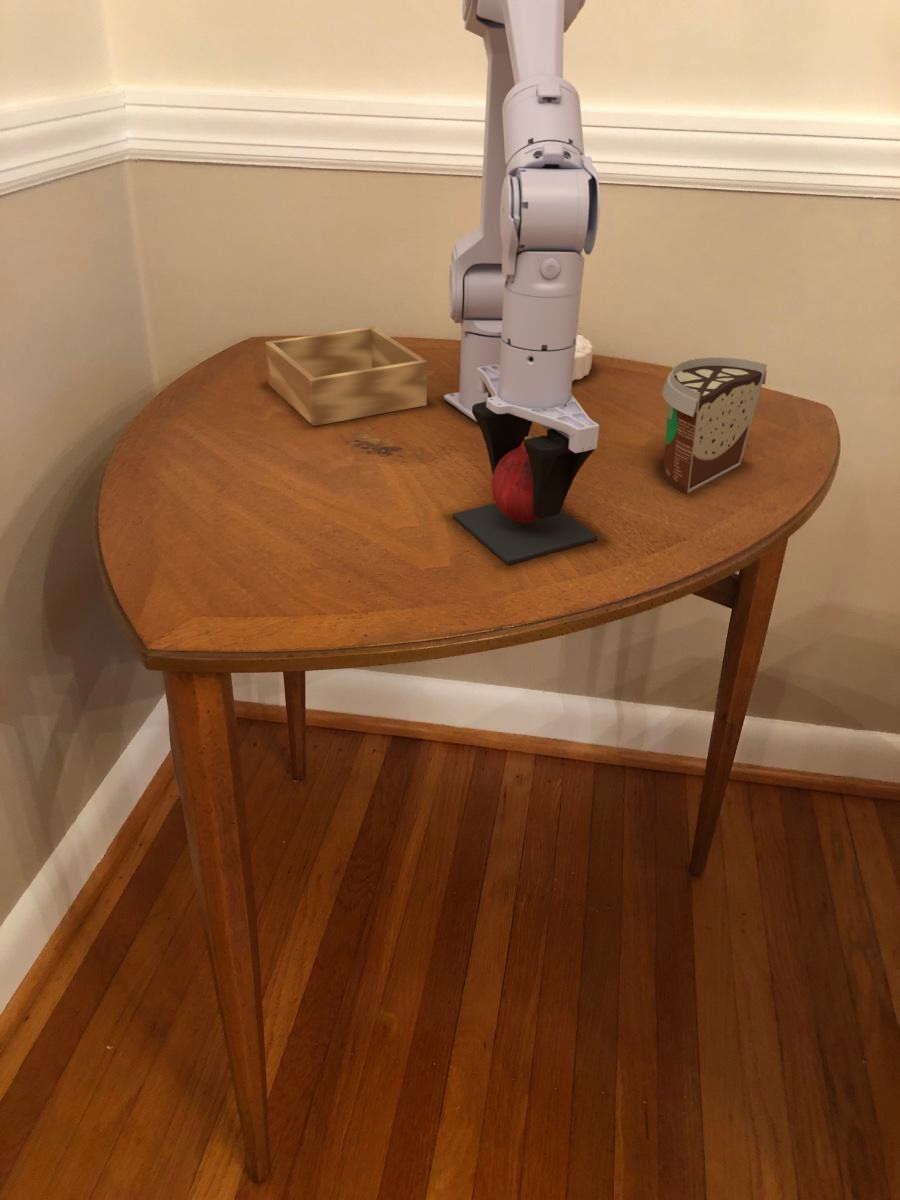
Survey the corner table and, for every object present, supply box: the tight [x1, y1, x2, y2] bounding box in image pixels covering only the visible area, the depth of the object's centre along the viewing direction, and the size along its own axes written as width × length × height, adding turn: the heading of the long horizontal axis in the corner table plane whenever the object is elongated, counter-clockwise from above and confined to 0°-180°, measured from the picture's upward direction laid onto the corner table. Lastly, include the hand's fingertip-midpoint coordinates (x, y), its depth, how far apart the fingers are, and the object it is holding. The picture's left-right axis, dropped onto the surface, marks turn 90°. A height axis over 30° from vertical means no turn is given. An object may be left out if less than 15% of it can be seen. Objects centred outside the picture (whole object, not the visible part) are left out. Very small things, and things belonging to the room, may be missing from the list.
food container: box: [661, 356, 768, 494], centre depth 89 cm, size 12×6×10 cm, turn 135°
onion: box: [490, 434, 539, 525], centre depth 78 cm, size 6×6×8 cm
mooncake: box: [572, 334, 594, 383], centre depth 114 cm, size 12×12×4 cm
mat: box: [452, 502, 599, 566], centre depth 81 cm, size 9×9×1 cm
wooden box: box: [264, 326, 428, 427], centre depth 104 cm, size 13×13×5 cm
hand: (526, 498), depth 79 cm, fingers closed on onion, 6 cm apart
